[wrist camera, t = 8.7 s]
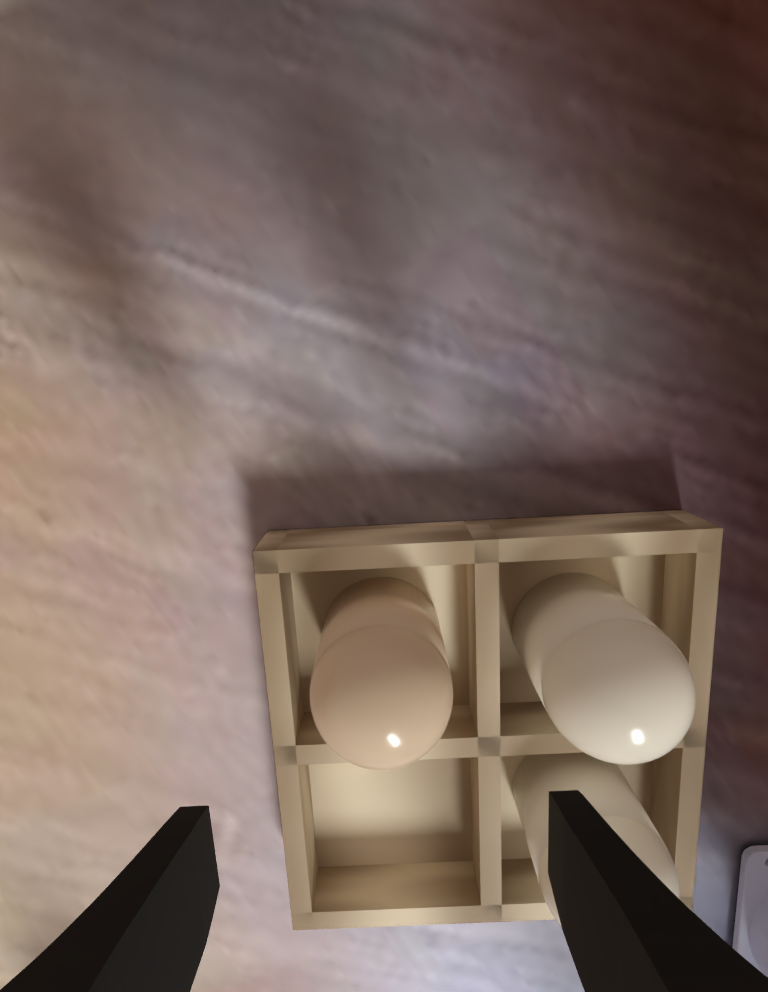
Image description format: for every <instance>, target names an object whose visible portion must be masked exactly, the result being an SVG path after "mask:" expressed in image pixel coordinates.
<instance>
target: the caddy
mask: <svg viewBox="0 0 768 992" xmlns="http://www.w3.org/2000/svg"><path fill="white" fill-rule="evenodd" d="M722 537H723V528H722V527H720V526H717V525H715V524H713V523H711V522H708V521H706V520H704V519H702V518H699V517H697V516H695V515H693V514H690V513H688V512H686V511H684V510H672V511H652V512H632V513H612V514H592V515H572V516H552V517H532V518H512V519H492V520H472V521H452V522H432V523H412V524H392V525H372V526H352V527H332V528H312V529H292V530H272V531H267V533H266V534H265V535H264V537H263V538H262V539H261V541H260V542H259V543H258V545H257V546H256V547H255V549H254V550H253V551H252V554H253V563H254V572H255V582H256V591H257V600H258V609H259V619H260V628H261V637H262V647H263V656H264V665H265V674H266V684H267V693H268V702H269V712H270V721H271V730H272V739H273V749H274V758H275V767H276V777H277V786H278V795H279V805H280V814H281V823H282V832H283V842H284V851H285V860H286V870H287V879H288V888H289V897H290V907H291V916H292V925H293V930H308V929H333V928H358V927H382V926H407V925H432V924H456V923H481V922H506V921H530V920H555V918H554V916H553V915H552V913H551V911H550V910H549V908H548V906H547V904H546V902H545V900H544V897H543V894H542V892H541V888H540V885H539V882H538V878H537V875H536V872H535V868H534V865H533V862H532V858H531V855H530V851H529V848H528V845H527V841H526V838H525V835H524V831H523V828H522V825H521V821H520V818H519V815H518V811H517V808H516V804H515V801H514V798H513V792H512V784H513V778H514V775H515V772H516V770H517V768H518V766H519V764H520V763H521V761H522V760H523V759H524V758H525V757H526V755H537V754H560V753H582V751H581V750H579V749H578V748H576V747H575V746H574V745H572V744H571V743H570V742H569V741H568V740H567V739H566V738H565V737H564V736H563V735H562V734H561V733H560V732H559V730H558V729H557V728H556V727H555V725H554V723H553V722H552V720H551V719H550V717H549V715H548V713H547V711H546V709H545V707H544V705H543V703H542V701H541V699H540V697H539V695H538V693H537V691H536V689H535V687H534V685H533V683H532V681H531V679H530V677H529V675H528V673H527V671H526V669H525V667H524V665H523V663H522V661H521V659H520V657H519V655H518V653H517V651H516V649H515V646H514V642H513V637H512V623H513V618H514V614H515V612H516V609H517V607H518V605H519V603H520V602H521V600H522V599H523V597H524V596H525V595H526V594H527V593H528V592H529V591H530V590H531V589H532V588H533V587H534V586H536V585H537V584H538V583H540V582H542V581H543V580H545V579H547V578H549V577H552V576H555V575H558V574H563V573H573V572H577V573H585V574H590V575H593V576H596V577H598V578H600V579H602V580H604V581H606V582H607V583H609V584H610V585H611V586H612V587H613V588H615V589H616V590H617V591H618V592H619V593H620V594H621V595H622V596H623V597H625V598H626V599H627V600H628V601H629V602H630V603H631V604H632V605H634V606H635V607H636V608H637V609H638V610H639V611H640V612H641V613H643V614H644V615H645V616H646V617H647V618H648V619H649V620H650V621H651V622H653V623H654V624H655V625H656V626H657V627H658V628H659V629H660V630H662V631H663V632H664V633H665V634H666V635H667V636H668V637H669V638H670V639H671V640H672V641H673V642H674V643H675V644H676V646H677V647H678V648H679V649H680V651H681V652H682V654H683V655H684V657H685V659H686V661H687V662H688V664H689V667H690V670H691V672H692V675H693V678H694V683H695V690H696V707H695V712H694V717H693V720H692V723H691V726H690V728H689V729H688V731H687V733H686V734H685V736H684V737H683V739H682V740H681V741H680V742H679V744H678V745H677V746H676V747H675V748H673V749H672V750H671V751H670V752H668V753H667V754H665V755H663V756H662V757H660V758H658V759H655V760H653V761H649V762H646V763H640V764H633V765H622V764H618V766H619V768H620V769H621V771H622V773H623V774H624V776H625V778H626V779H627V781H628V783H629V785H630V786H631V788H632V790H633V791H634V793H635V795H636V796H637V798H638V800H639V801H640V803H641V805H642V806H643V808H644V810H645V811H646V813H647V815H648V817H649V818H650V820H651V822H652V823H653V825H654V827H655V828H656V830H657V832H658V833H659V835H660V837H661V838H662V840H663V842H664V843H665V845H666V847H667V849H668V851H669V853H670V855H671V857H672V860H673V862H674V865H675V868H676V872H677V877H678V882H679V899H680V900H681V901H682V902H683V903H684V904H685V905H686V906H687V907H688V908H689V909H690V910H691V911H692V907H693V895H694V883H695V870H696V858H697V846H698V833H699V821H700V809H701V796H702V784H703V772H704V759H705V747H706V735H707V722H708V710H709V698H710V685H711V673H712V661H713V648H714V636H715V624H716V611H717V599H718V587H719V574H720V562H721V549H722ZM374 577H390V578H396V579H399V580H403V581H405V582H407V583H410V584H411V585H413V586H415V587H416V588H418V589H419V590H420V591H422V592H423V593H424V594H425V595H426V596H427V598H428V599H429V600H430V601H431V603H432V605H433V606H434V608H435V610H436V613H437V615H438V619H439V624H440V628H441V632H442V637H443V641H444V646H445V650H446V654H447V659H448V663H449V668H450V672H451V677H452V683H453V706H452V711H451V716H450V719H449V722H448V724H447V727H446V729H445V731H444V733H443V735H442V736H441V738H440V739H439V740H438V742H437V743H436V745H435V746H434V747H433V748H432V749H431V750H430V751H429V752H428V753H427V754H426V755H424V756H423V757H422V758H420V759H418V760H417V761H415V762H414V763H412V764H410V765H408V766H405V767H402V768H398V769H394V770H386V771H376V770H369V769H364V768H361V767H358V766H355V765H353V764H351V763H349V762H347V761H346V760H344V759H343V758H341V757H340V756H338V755H337V754H336V753H335V752H334V751H333V750H332V749H331V748H330V747H329V746H328V745H327V744H326V742H325V741H324V739H323V738H322V736H321V735H320V733H319V731H318V729H317V727H316V725H315V722H314V719H313V716H312V712H311V706H310V683H311V676H312V672H313V668H314V664H315V660H316V656H317V651H318V647H319V643H320V639H321V635H322V630H323V626H324V622H325V618H326V615H327V612H328V610H329V607H330V606H331V604H332V603H333V601H334V600H335V598H336V597H337V596H338V595H339V594H340V593H341V592H342V591H343V590H345V589H346V588H347V587H349V586H350V585H352V584H354V583H356V582H359V581H361V580H364V579H368V578H374Z"/></svg>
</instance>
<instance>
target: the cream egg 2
mask: <svg viewBox="0 0 768 992" xmlns="http://www.w3.org/2000/svg"><path fill="white" fill-rule="evenodd" d="M567 790H579V791H580V792H581V793H582V794H583V795H584V796H585V798H586V799H587V800H588V801H589V802H590V803H591V805H592V806H593V807H594V808H595V809H596V810H597V812H598V813H599V814H600V815H601V816H602V817H603V818H604V820H605V821H606V822H607V823H608V824H609V825H610V826H611V828H612V829H613V830H614V831H615V832H616V833H617V834H618V835H619V837H620V838H621V839H622V840H623V841H624V842H625V843H626V844H627V845H628V846H629V848H630V849H631V850H632V851H633V852H634V853H635V854H636V855H637V856H638V857H639V858H640V859H641V860H642V861H643V862H644V863H645V865H646V866H647V867H648V868H649V869H650V870H651V871H652V872H653V873H654V874H655V875H656V876H657V877H658V878H659V879H660V880H661V881H662V882H663V883H664V884H665V885H666V886H667V887H668V888H669V889H670V890H671V891H672V892H673V893H674V894H675V895H676V896H677V897H678V898H679V882H678V877H677V872H676V868H675V865H674V862H673V860H672V857H671V855H670V853H669V851H668V849H667V847H666V845H665V843H664V842H663V840H662V838H661V837H660V835H659V833H658V832H657V830H656V828H655V827H654V825H653V823H652V822H651V820H650V818H649V817H648V815H647V813H646V811H645V810H644V808H643V806H642V805H641V803H640V801H639V800H638V798H637V796H636V795H635V793H634V791H633V790H632V788H631V786H630V785H629V783H628V781H627V779H626V778H625V776H624V774H623V773H622V771H621V769H620V768H619V766H618V764H615V763H609V762H605V761H602V760H599V759H596V758H594V757H592V756H590V755H588V754H586V753H584V752H582V753H560V754H537V755H526V757H525V758H524V759H523V760H522V761H521V763H520V764H519V766H518V768H517V770H516V772H515V775H514V778H513V784H512V792H513V798H514V801H515V804H516V808H517V811H518V815H519V818H520V821H521V825H522V828H523V831H524V835H525V838H526V841H527V845H528V848H529V851H530V855H531V858H532V862H533V865H534V868H535V872H536V875H537V878H538V882H539V885H540V888H541V892H542V894H543V897H544V900H545V902H546V904H547V906H548V908H549V910H550V911H551V913H552V915H553V916H554V918H555V919H556V920H557V922H558V923H559V925H560V926H561V922H560V918H559V915H558V911H557V907H556V903H555V899H554V895H553V891H552V887H551V883H550V879H549V875H548V818H549V791H567ZM561 927H562V926H561Z"/></svg>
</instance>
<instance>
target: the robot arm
mask: <svg viewBox="0 0 768 992" xmlns="http://www.w3.org/2000/svg"><path fill="white" fill-rule="evenodd" d="M548 875H549V879H550V883H551V887H552V891H553V895H554V899H555V903H556V907H557V911H558V915H559V918H560V922H561V926H562V930H563V932H564V935H565V938H566V941H567V944H568V946H569V949H570V952H571V955H572V958H573V960H574V963H575V966H576V969H577V971H578V974H579V977H580V980H581V982H582V985H583V988H584V991H585V992H768V845H759V846H750V847H748V848H746V849H745V850H744V851H743V854H742V858H741V868H740V878H739V888H738V897H737V907H736V917H735V927H734V937H733V947H731V946H730V945H728V944H727V943H726V942H725V941H724V940H723V939H722V938H720V937H719V936H718V935H717V934H716V933H715V932H714V931H713V930H712V929H711V928H709V927H708V926H707V925H706V924H705V923H704V922H703V921H702V920H701V919H700V918H699V917H698V916H697V915H696V914H694V913H693V912H692V911H691V910H690V909H689V908H688V907H687V906H686V905H685V904H684V903H683V902H682V901H681V900H680V899H679V898H678V897H677V896H676V895H675V894H674V893H673V892H672V891H671V890H670V889H669V888H668V887H667V886H666V885H665V884H664V883H663V882H662V881H661V880H660V879H659V878H658V877H657V876H656V875H655V874H654V873H653V872H652V871H651V870H650V869H649V868H648V867H647V866H646V865H645V863H644V862H643V861H642V860H641V859H640V858H639V857H638V856H637V855H636V854H635V853H634V852H633V851H632V850H631V849H630V848H629V846H628V845H627V844H626V843H625V842H624V841H623V840H622V839H621V838H620V837H619V835H618V834H617V833H616V832H615V831H614V830H613V829H612V828H611V826H610V825H609V824H608V823H607V822H606V821H605V820H604V818H603V817H602V816H601V815H600V814H599V813H598V812H597V810H596V809H595V808H594V807H593V806H592V805H591V803H590V802H589V801H588V800H587V799H586V798H585V796H584V795H583V794H582V793H581V792H580V791H579V790H567V791H549V818H548ZM219 887H220V884H219V877H218V870H217V863H216V855H215V848H214V841H213V834H212V827H211V819H210V812H209V806H189V807H180V808H179V809H178V810H177V811H176V812H175V813H174V814H173V815H172V816H171V817H170V818H169V819H168V821H167V822H166V823H165V824H164V825H163V826H162V827H161V828H160V829H159V831H158V832H157V833H156V834H155V835H154V836H153V837H152V838H151V840H150V841H149V842H148V843H147V844H146V845H145V846H144V847H143V849H142V850H141V851H140V852H139V853H138V854H137V855H136V856H135V857H134V859H133V860H132V861H131V862H130V863H129V864H128V865H127V866H126V867H125V868H124V870H123V871H122V872H121V873H120V874H119V875H118V876H117V877H116V878H115V879H114V880H113V881H112V882H111V884H110V885H109V886H108V887H107V888H106V889H105V890H104V891H103V892H102V893H101V894H100V895H99V896H98V897H97V898H96V900H95V901H94V902H93V903H92V904H91V905H90V906H89V907H88V908H87V909H86V910H85V911H84V912H83V913H82V914H81V915H80V916H79V917H78V918H77V919H76V920H75V921H74V922H73V923H72V924H71V925H70V926H69V927H68V928H67V929H66V930H65V931H64V932H63V933H62V934H61V935H60V936H59V937H58V938H57V939H56V940H55V941H54V942H53V943H52V944H51V945H50V946H48V947H47V948H46V949H45V950H44V951H43V952H42V953H41V954H40V955H39V956H38V957H37V958H36V959H35V960H33V961H32V962H31V963H30V964H29V965H28V966H27V967H26V968H25V969H23V970H22V971H21V972H20V973H19V974H18V975H17V976H16V977H14V978H13V979H12V980H11V981H10V982H9V983H8V984H6V985H5V986H4V987H3V988H2V989H1V990H0V992H190V990H191V987H192V984H193V981H194V978H195V975H196V972H197V969H198V966H199V963H200V961H201V958H202V955H203V952H204V949H205V946H206V942H207V938H208V934H209V930H210V926H211V922H212V918H213V914H214V909H215V905H216V900H217V896H218V891H219Z"/></svg>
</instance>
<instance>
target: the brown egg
mask: <svg viewBox="0 0 768 992" xmlns="http://www.w3.org/2000/svg"><path fill="white" fill-rule="evenodd" d="M310 706H311V712H312V716H313V719H314V722H315V725H316V727H317V729H318V731H319V733H320V735H321V736H322V738H323V739H324V741H325V742H326V744H327V745H328V746H329V747H330V748H331V749H332V750H333V751H334V752H335V753H336V754H337V755H338V756H340V757H341V758H343V759H344V760H346V761H347V762H349V763H351V764H353V765H355V766H358V767H361V768H364V769H369V770H376V771H386V770H394V769H398V768H402V767H405V766H408V765H410V764H412V763H414V762H415V761H417V760H418V759H420V758H422V757H423V756H424V755H426V754H427V753H428V752H429V751H430V750H431V749H432V748H433V747H434V746H435V745H436V743H437V742H438V740H439V739H440V738H441V736H442V735H443V733H444V731H445V729H446V727H447V724H448V722H449V719H450V716H451V711H452V706H453V683H452V677H451V672H450V668H449V663H448V659H447V654H446V650H445V646H444V641H443V637H442V632H441V628H440V624H439V619H438V615H437V613H436V610H435V608H434V606H433V605H432V603H431V601H430V600H429V599H428V598H427V596H426V595H425V594H424V593H423V592H422V591H420V590H419V589H418V588H416V587H415V586H413V585H411V584H410V583H407V582H405V581H403V580H399V579H396V578H390V577H374V578H368V579H364V580H361V581H359V582H356V583H354V584H352V585H350V586H349V587H347V588H346V589H345V590H343V591H342V592H341V593H340V594H339V595H338V596H337V597H336V598H335V600H334V601H333V603H332V604H331V606H330V607H329V610H328V612H327V615H326V618H325V622H324V626H323V630H322V635H321V639H320V643H319V647H318V651H317V656H316V660H315V664H314V668H313V672H312V676H311V683H310Z"/></svg>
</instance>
